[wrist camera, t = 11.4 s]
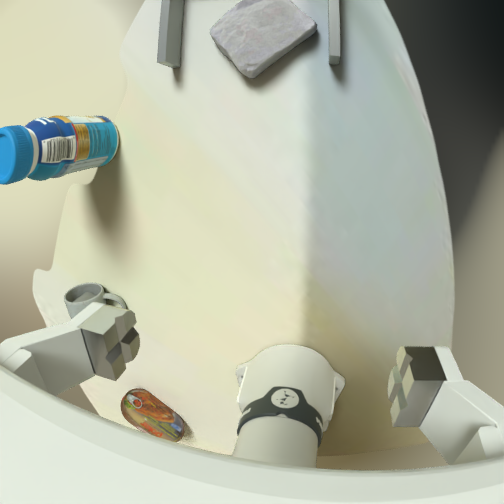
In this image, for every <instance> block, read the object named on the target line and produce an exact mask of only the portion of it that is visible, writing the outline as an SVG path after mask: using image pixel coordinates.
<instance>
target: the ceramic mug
mask: <svg viewBox="0 0 504 504" xmlns="http://www.w3.org/2000/svg"><path fill="white" fill-rule="evenodd" d="M106 299H111V300H114V301H116V302H118V303H119V304H120V305H121V306H122V308H123V309H126V305H125V302H124V301H123V299H122V298H120V297H119V296H117V295H115V294H110V293H104V289H103V287H102V286H101V285H100V284H97V283H84V284H80V285H77V286H75V287H73V288H72V289H70V290H69V291H68V292H67V293H66V294H65V296H64V301H65V304H66V307H67V309H68V312H69V315H70V317H71V319H72V318H74V317H75V316H76V315H77V314H78V313H80V312H81V311H82V310H83V309H85V308H86V307H87V306H88V305H90V304H91V303H92V302H99V303H103V304H106ZM106 305H107V304H106Z"/></svg>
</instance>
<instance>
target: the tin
mask: <svg viewBox="0 0 504 504" xmlns="http://www.w3.org/2000/svg"><path fill="white" fill-rule="evenodd" d="M121 411H122V414H123V416H124V417H125V419H126V420H127V421H128V422H129V423H131V424H132V425H133V426H135V427H136V428H137V429H139V430H140V431H142V432H144V433H147V434H150V435H153V436H156V437H159V438H162V439H166V440H169V441H172V442H178V441H179V440H180V439H181V438H182V437H183V435H184V423H183V421H182V419H181V417H180V416H179V415H178V414H177V413H176V412H175V411H173V410H172V409H171V408H169V407H168V406H166V405H165V404H164V403H162V402H161V401H160V400H158V399H157V398H156V397H155V396H153V395H152V394H151V393H149V392H148V391H146V390H144V389H132V390H130V391H129V392H127V393H126V395H125V396H124V397H123V399H122V401H121Z"/></svg>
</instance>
